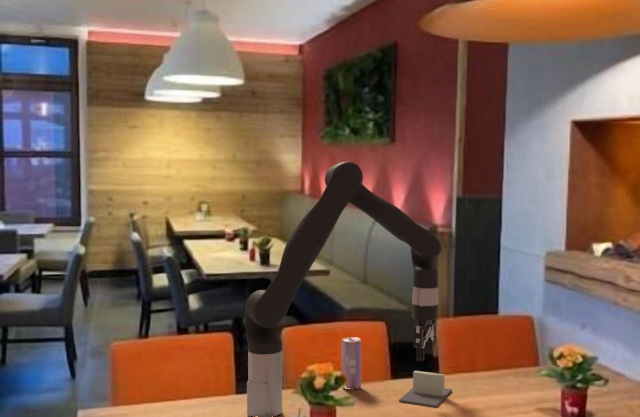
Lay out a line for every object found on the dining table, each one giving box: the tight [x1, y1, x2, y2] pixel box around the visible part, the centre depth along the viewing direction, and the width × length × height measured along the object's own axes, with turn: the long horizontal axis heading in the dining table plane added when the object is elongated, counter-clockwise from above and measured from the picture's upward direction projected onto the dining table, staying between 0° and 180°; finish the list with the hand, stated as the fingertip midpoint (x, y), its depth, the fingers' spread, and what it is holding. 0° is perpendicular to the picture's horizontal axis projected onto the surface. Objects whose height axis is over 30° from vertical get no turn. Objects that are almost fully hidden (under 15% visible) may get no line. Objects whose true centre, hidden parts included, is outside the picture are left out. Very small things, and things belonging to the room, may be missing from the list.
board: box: [412, 370, 446, 396], centre depth 197 cm, size 2×9×6 cm, turn 64°
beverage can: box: [341, 336, 362, 389], centre depth 204 cm, size 6×6×15 cm
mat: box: [398, 387, 453, 408], centre depth 196 cm, size 16×11×1 cm
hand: (424, 357), depth 195 cm, fingers open, 8 cm apart
